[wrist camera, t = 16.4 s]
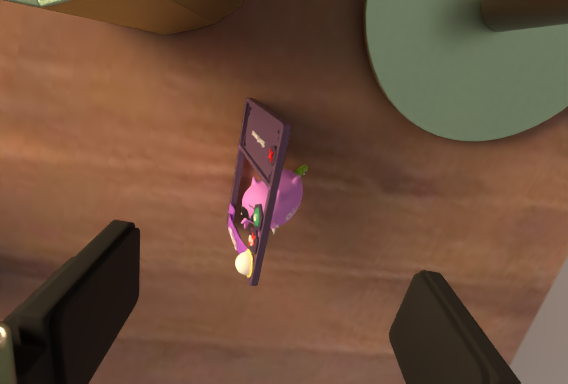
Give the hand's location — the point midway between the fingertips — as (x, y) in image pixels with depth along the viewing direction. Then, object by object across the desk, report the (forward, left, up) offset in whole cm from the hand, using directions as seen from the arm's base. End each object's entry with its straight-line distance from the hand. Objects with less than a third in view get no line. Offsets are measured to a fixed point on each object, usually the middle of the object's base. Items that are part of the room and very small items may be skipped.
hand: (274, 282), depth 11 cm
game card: (0, 0, -12) cm, 12 cm away
